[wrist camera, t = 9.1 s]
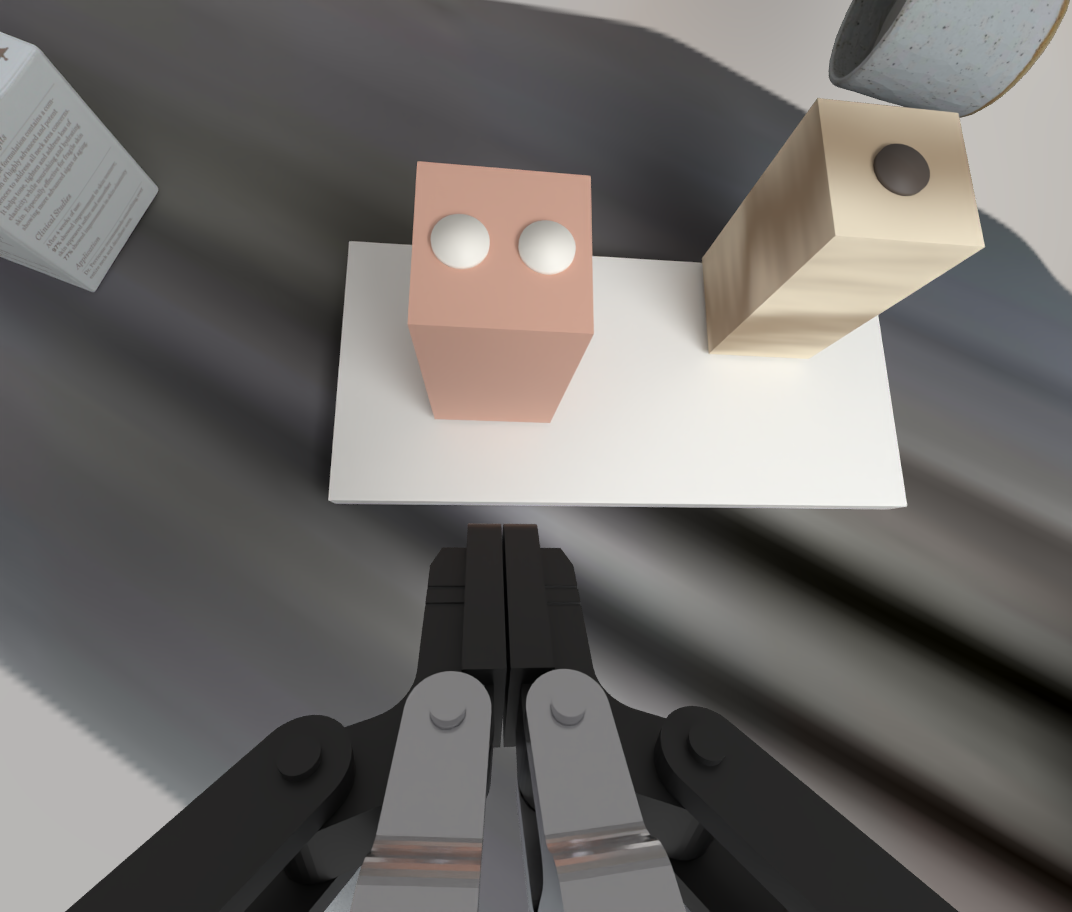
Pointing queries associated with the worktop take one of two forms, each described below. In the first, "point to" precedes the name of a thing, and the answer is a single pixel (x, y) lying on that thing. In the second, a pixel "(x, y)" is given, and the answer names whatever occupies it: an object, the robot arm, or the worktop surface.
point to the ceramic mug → (941, 49)
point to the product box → (61, 174)
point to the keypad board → (616, 410)
